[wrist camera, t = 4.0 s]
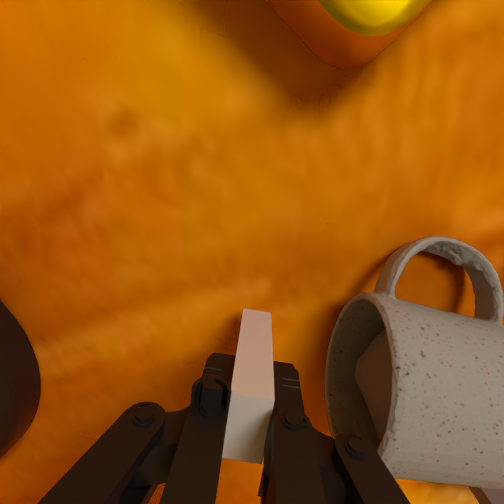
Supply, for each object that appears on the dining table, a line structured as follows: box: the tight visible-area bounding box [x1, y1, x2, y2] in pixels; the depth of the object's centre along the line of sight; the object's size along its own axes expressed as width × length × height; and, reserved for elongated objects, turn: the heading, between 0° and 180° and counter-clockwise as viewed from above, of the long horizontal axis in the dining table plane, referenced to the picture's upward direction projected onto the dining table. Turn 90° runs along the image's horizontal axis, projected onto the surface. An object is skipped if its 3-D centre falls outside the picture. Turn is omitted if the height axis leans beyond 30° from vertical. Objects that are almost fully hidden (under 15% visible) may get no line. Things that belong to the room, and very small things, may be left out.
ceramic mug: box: [324, 236, 504, 489], centre depth 14 cm, size 11×8×8 cm
